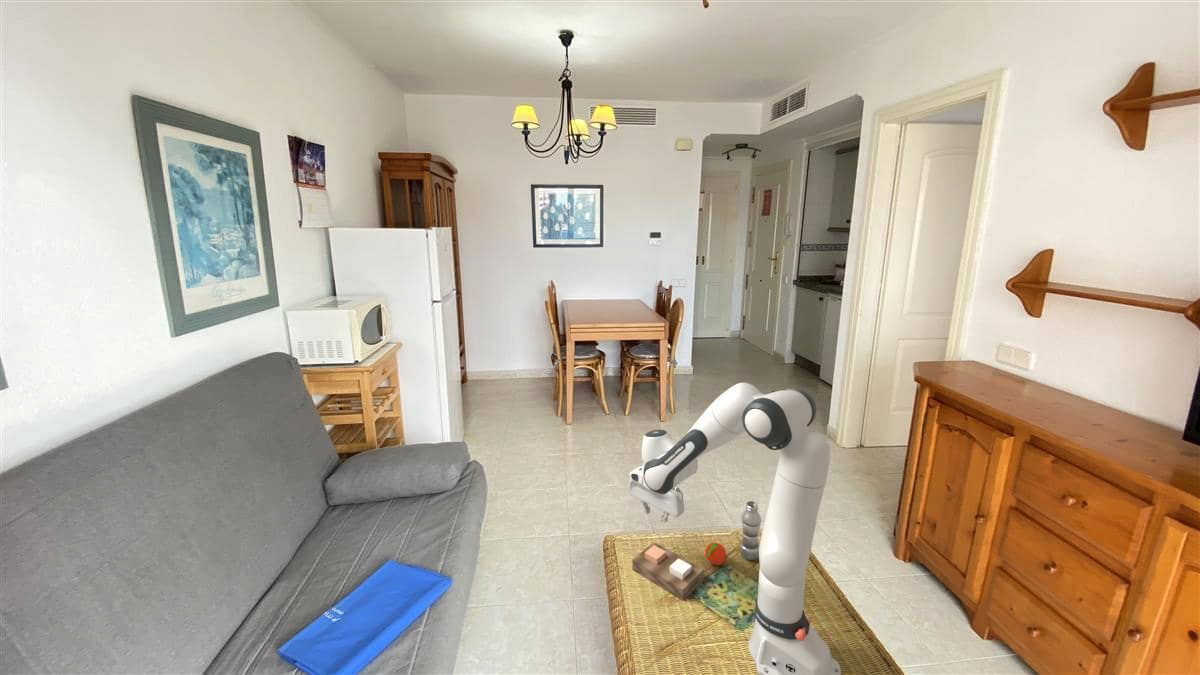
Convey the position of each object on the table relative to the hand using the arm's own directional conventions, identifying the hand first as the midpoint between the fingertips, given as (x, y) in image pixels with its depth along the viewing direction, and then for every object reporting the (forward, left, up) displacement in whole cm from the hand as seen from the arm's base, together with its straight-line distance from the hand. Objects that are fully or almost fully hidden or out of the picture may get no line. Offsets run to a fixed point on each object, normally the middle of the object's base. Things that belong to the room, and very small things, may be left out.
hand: (655, 516), depth 155 cm
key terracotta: (0, 0, -16) cm, 16 cm away
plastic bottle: (-21, -26, -19) cm, 38 cm away
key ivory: (-10, 0, -16) cm, 19 cm away
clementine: (-14, -15, -20) cm, 28 cm away
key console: (-5, 0, -19) cm, 20 cm away
